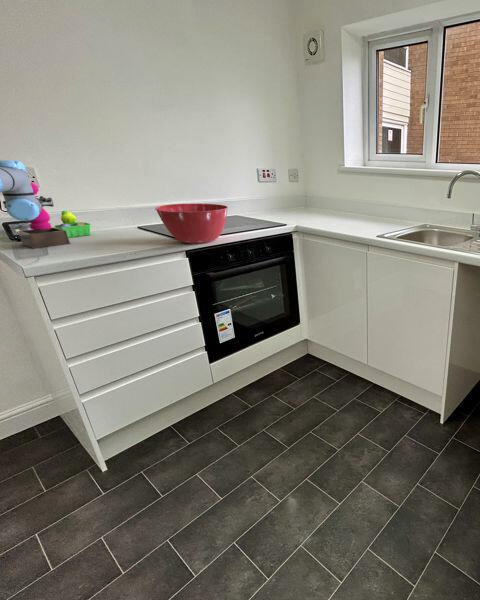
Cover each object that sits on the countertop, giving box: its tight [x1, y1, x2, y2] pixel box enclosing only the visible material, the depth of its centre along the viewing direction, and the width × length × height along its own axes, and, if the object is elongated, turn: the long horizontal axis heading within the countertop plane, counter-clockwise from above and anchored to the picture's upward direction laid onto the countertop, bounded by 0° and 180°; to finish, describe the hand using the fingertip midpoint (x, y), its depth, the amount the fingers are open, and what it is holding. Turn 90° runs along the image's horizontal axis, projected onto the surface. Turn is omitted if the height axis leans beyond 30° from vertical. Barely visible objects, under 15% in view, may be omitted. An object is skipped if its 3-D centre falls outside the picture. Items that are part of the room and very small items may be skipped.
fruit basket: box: [54, 210, 92, 238], centre depth 162 cm, size 11×9×11 cm
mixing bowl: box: [154, 203, 229, 245], centre depth 159 cm, size 28×28×15 cm
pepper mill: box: [27, 181, 53, 230], centre depth 141 cm, size 7×7×20 cm
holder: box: [17, 226, 71, 249], centre depth 146 cm, size 12×12×6 cm
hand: (33, 199), depth 145 cm, fingers closed on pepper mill, 5 cm apart
